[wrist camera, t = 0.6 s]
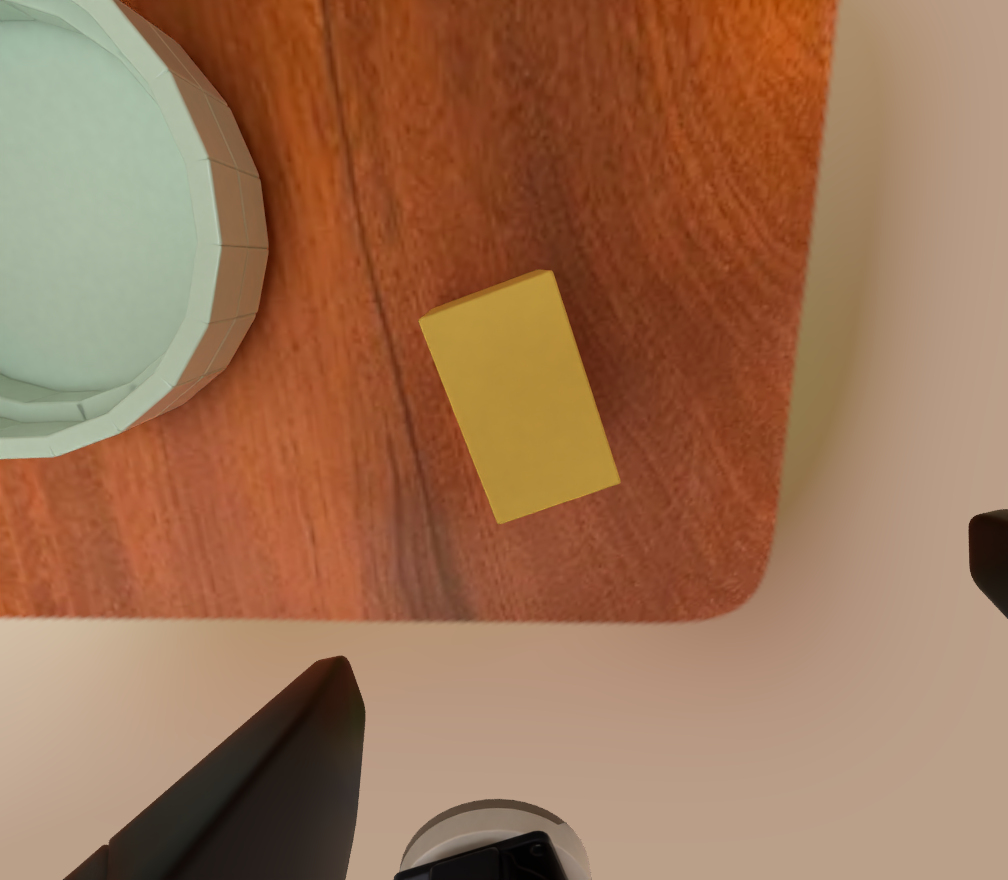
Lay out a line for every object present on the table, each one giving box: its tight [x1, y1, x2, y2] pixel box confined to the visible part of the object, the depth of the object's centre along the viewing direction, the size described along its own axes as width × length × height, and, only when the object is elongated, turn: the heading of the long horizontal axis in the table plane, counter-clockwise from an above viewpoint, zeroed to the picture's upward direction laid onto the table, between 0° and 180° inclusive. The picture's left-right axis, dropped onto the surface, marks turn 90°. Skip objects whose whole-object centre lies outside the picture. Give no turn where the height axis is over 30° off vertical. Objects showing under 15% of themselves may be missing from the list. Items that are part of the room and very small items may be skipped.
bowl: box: [0, 0, 269, 459], centre depth 16 cm, size 12×12×4 cm
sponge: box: [418, 269, 621, 524], centre depth 18 cm, size 6×4×4 cm, turn 20°
